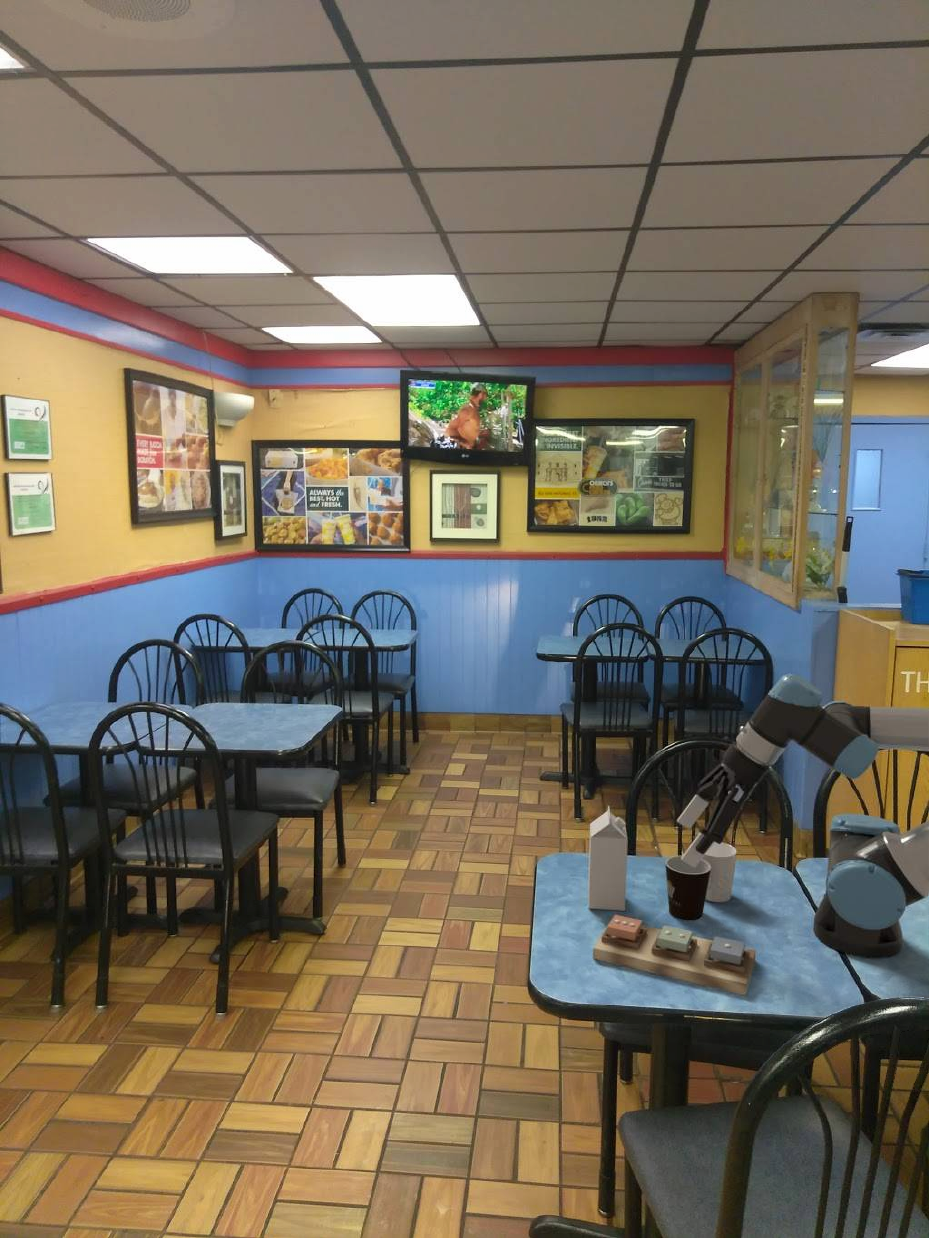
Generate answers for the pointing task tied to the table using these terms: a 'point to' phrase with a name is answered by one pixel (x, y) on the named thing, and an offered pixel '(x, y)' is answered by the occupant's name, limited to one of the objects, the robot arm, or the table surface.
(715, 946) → the key one dot
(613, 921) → the key three dots
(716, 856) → the white cup
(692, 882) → the coffee mug
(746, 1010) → the table surface
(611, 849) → the milk carton
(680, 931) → the key two dots
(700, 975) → the keypad board
